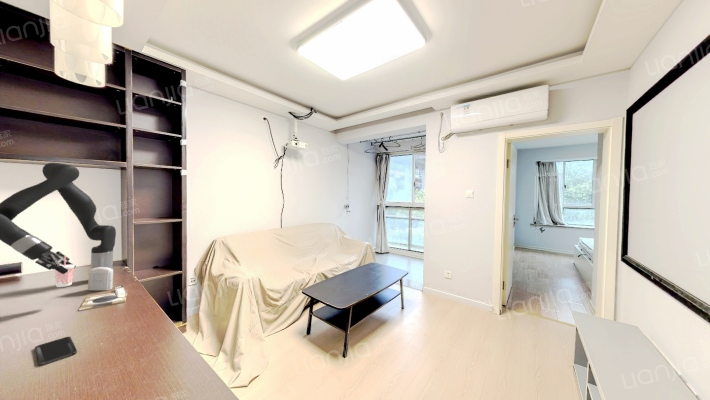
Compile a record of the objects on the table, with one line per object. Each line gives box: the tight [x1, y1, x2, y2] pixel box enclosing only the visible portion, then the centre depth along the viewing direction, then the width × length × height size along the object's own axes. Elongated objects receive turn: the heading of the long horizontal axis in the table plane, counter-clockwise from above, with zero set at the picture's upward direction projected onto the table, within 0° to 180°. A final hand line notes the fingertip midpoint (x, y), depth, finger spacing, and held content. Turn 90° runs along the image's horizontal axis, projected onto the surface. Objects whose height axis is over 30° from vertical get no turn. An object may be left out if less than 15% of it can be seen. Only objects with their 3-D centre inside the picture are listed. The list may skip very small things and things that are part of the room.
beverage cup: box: [54, 254, 76, 288], centre depth 113 cm, size 6×6×14 cm
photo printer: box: [87, 267, 114, 291], centre depth 132 cm, size 10×4×12 cm, turn 98°
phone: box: [34, 336, 78, 367], centre depth 80 cm, size 8×1×15 cm
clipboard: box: [78, 290, 129, 312], centre depth 119 cm, size 18×15×1 cm
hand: (69, 270), depth 113 cm, fingers closed on beverage cup, 6 cm apart
